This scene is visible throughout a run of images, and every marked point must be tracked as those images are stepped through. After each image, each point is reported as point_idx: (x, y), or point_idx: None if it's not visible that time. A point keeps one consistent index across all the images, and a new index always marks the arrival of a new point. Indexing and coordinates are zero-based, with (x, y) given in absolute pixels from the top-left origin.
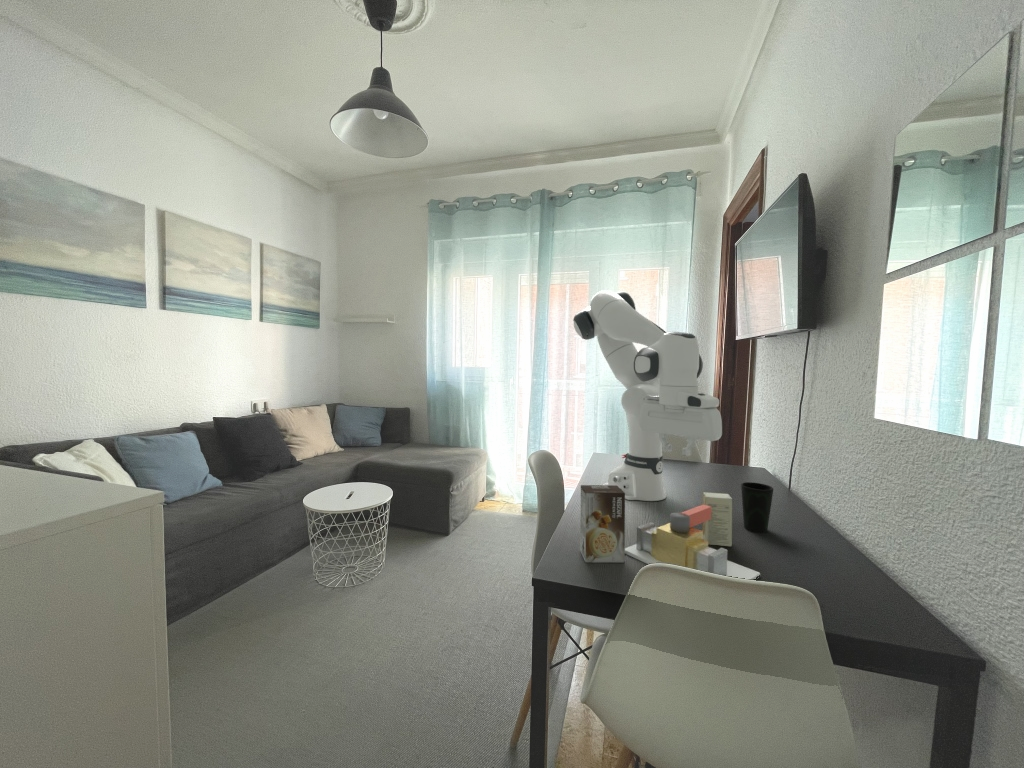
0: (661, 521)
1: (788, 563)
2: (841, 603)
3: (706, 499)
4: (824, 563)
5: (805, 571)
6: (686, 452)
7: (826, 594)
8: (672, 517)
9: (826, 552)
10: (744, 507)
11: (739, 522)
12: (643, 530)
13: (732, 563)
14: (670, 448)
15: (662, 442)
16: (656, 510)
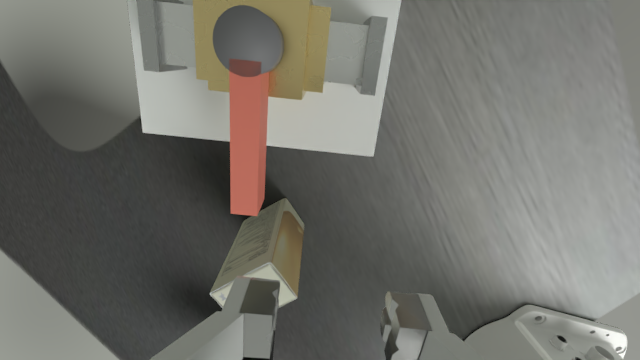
0: (408, 242)
1: (147, 226)
2: (23, 135)
3: (268, 258)
4: (116, 269)
5: (116, 215)
6: (236, 289)
7: (52, 150)
8: (257, 9)
9: (135, 313)
10: (260, 358)
11: (288, 340)
12: (368, 30)
13: (195, 132)
14: (389, 336)
15: (460, 348)
16: (444, 291)
